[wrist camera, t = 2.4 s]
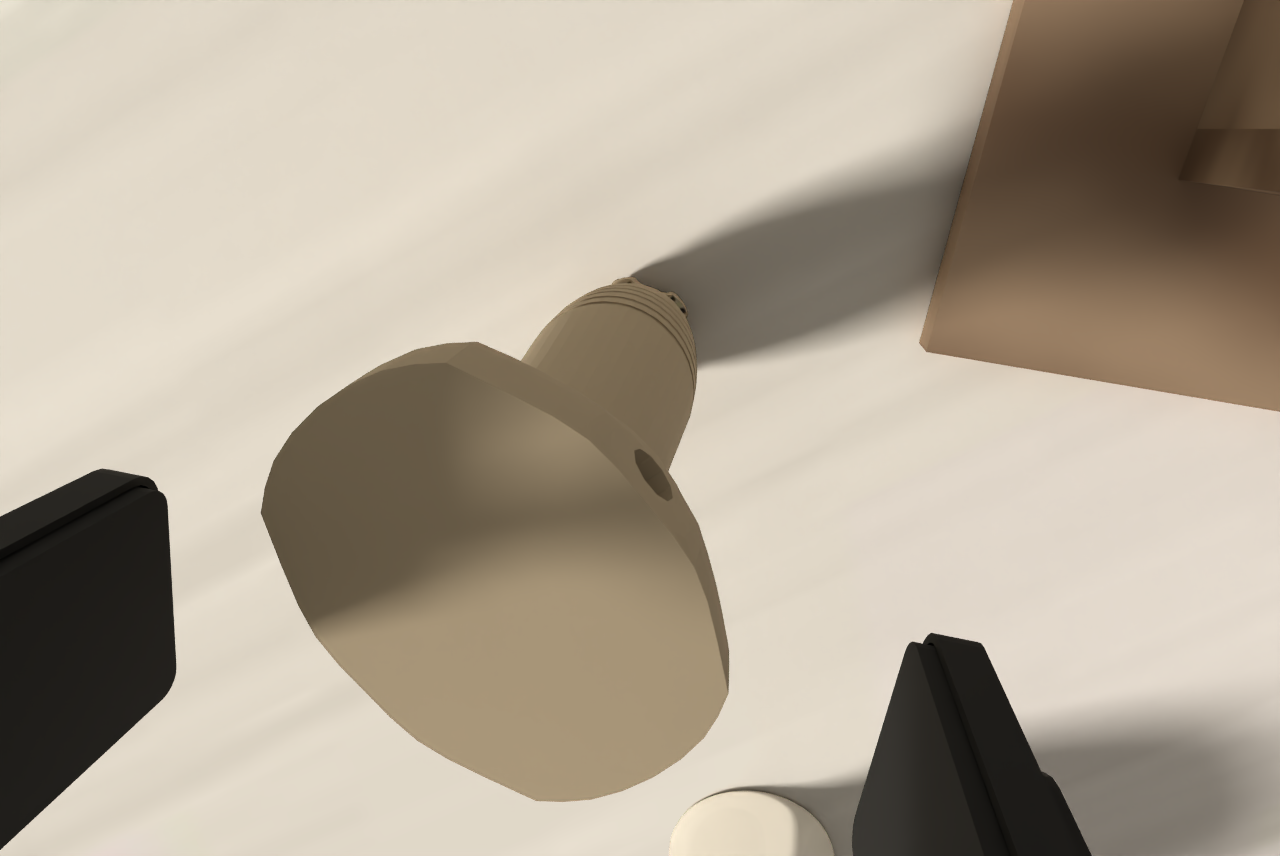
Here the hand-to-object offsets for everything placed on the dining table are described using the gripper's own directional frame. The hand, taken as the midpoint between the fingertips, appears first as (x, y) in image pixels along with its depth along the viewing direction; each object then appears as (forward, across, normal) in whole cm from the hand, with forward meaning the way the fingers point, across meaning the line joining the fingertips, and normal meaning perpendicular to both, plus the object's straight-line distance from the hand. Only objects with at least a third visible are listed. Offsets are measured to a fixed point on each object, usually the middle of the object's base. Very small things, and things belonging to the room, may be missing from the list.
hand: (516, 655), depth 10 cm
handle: (+16, +1, -1) cm, 16 cm away
